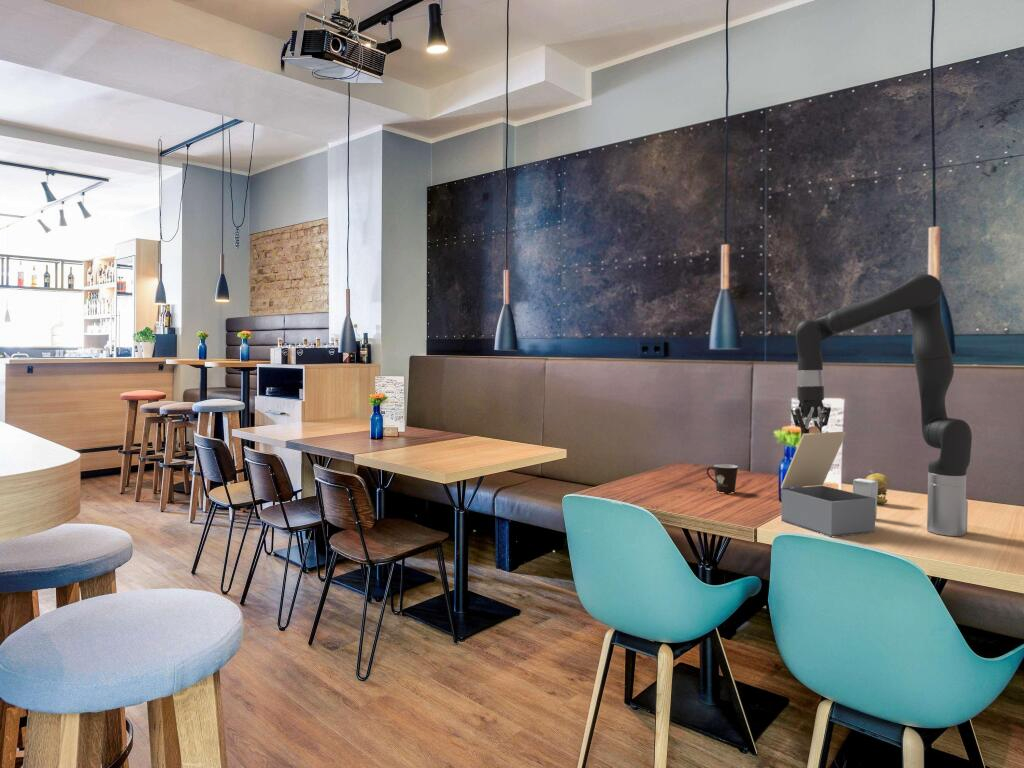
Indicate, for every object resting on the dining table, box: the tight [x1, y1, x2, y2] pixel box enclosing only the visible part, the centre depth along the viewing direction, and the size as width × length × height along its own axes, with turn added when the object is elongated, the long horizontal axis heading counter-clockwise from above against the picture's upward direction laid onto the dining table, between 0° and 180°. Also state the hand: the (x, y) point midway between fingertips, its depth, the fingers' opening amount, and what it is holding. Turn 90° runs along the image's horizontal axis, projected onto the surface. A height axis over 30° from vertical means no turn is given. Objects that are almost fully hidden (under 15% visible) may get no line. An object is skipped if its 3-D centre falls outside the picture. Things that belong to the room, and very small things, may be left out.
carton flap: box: [780, 425, 847, 489], centre depth 205 cm, size 16×20×6 cm
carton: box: [780, 485, 876, 538], centre depth 198 cm, size 16×20×10 cm
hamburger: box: [864, 470, 890, 505], centre depth 228 cm, size 8×7×12 cm
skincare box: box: [852, 478, 878, 520], centre depth 208 cm, size 6×4×12 cm
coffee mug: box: [706, 463, 739, 493], centre depth 250 cm, size 12×9×10 cm
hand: (811, 440), depth 203 cm, fingers closed on carton flap, 4 cm apart
